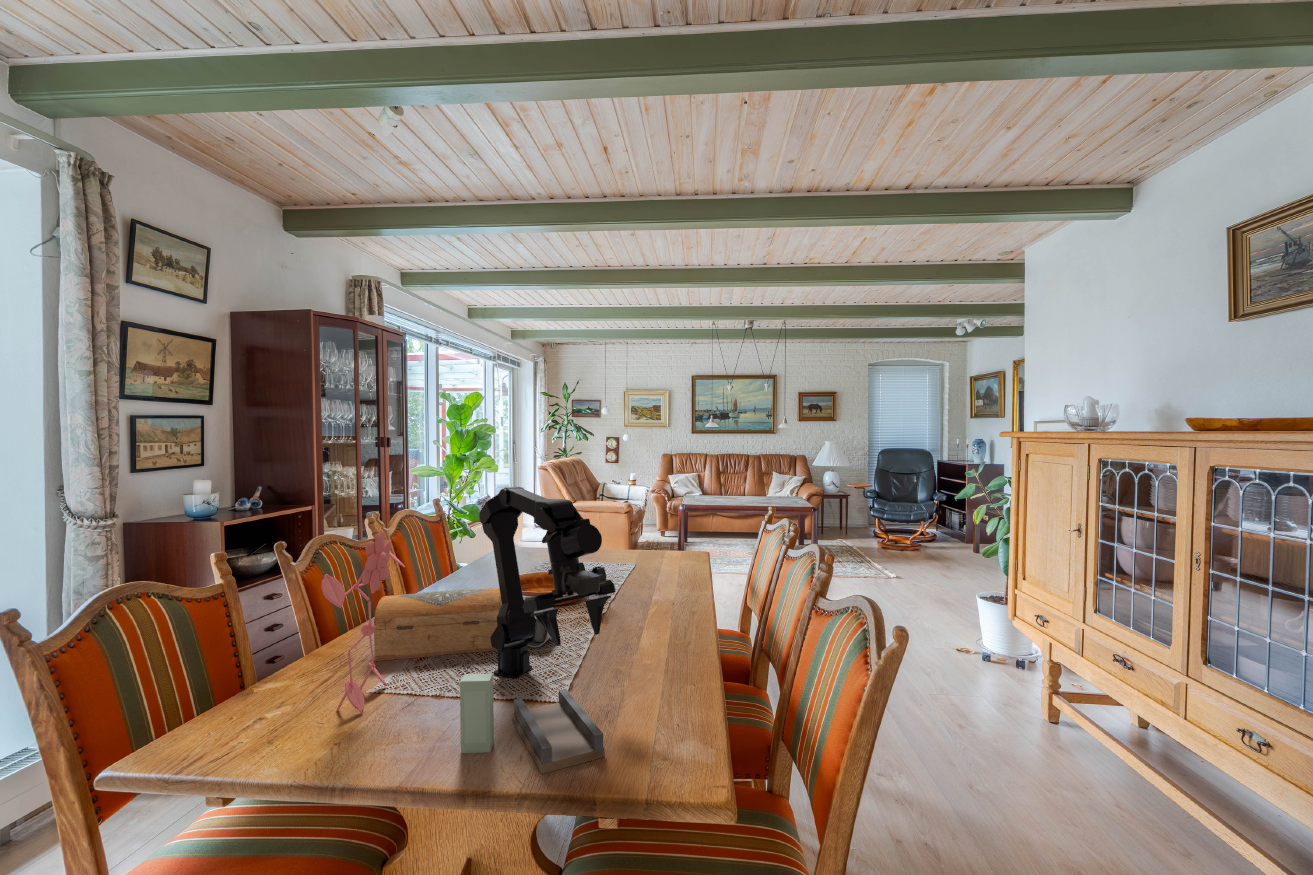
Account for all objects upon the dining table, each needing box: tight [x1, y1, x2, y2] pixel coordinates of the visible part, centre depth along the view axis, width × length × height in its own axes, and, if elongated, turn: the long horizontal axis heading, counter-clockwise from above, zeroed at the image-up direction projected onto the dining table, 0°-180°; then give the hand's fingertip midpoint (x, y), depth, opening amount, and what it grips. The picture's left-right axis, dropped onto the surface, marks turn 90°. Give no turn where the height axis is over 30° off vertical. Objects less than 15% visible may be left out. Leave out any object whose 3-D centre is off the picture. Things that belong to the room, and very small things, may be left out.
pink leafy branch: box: [315, 530, 424, 725], centre depth 123 cm, size 15×26×35 cm, turn 0°
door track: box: [511, 688, 606, 775], centre depth 108 cm, size 20×11×4 cm, turn 27°
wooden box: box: [373, 587, 502, 662], centre depth 155 cm, size 30×16×14 cm, turn 103°
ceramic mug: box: [528, 617, 551, 648], centre depth 157 cm, size 11×8×8 cm
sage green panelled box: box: [459, 673, 495, 754], centre depth 104 cm, size 3×5×12 cm, turn 93°
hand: (578, 639), depth 117 cm, fingers open, 9 cm apart
